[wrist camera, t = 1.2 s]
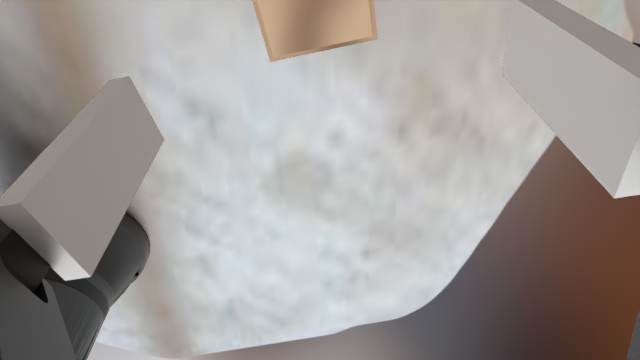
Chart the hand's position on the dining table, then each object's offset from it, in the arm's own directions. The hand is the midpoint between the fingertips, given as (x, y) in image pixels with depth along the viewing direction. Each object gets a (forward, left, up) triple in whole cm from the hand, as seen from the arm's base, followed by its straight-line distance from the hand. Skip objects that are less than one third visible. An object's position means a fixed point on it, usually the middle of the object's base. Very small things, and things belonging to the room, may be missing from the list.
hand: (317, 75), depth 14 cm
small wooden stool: (0, 0, -20) cm, 20 cm away
